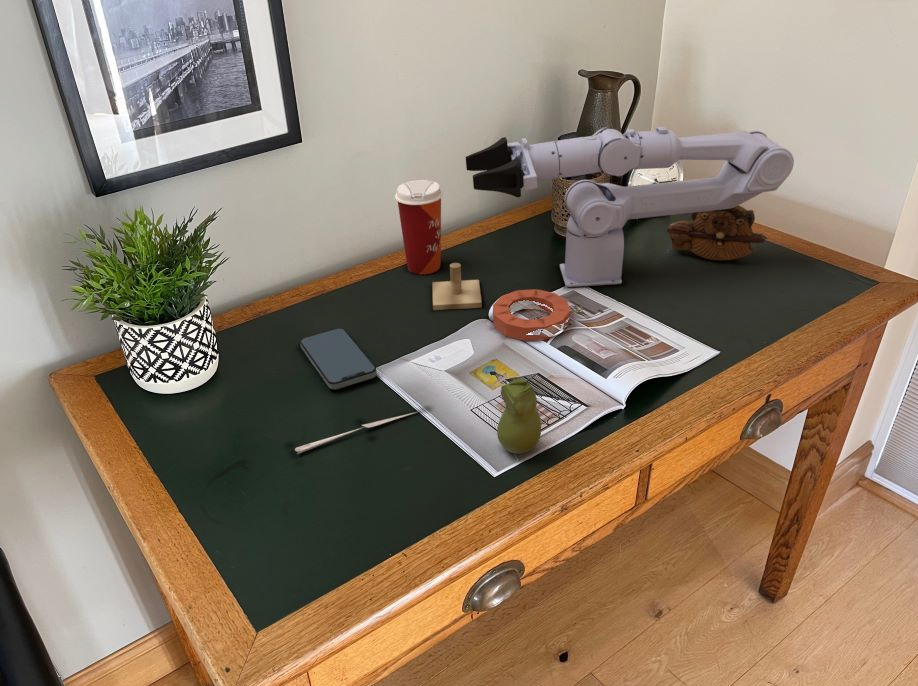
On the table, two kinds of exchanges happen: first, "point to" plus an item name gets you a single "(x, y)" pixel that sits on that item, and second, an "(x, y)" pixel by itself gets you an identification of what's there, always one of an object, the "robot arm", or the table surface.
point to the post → (456, 292)
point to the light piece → (315, 444)
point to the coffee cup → (421, 224)
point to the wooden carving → (717, 234)
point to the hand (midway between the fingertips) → (469, 172)
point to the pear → (519, 418)
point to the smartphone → (338, 359)
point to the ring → (521, 327)
